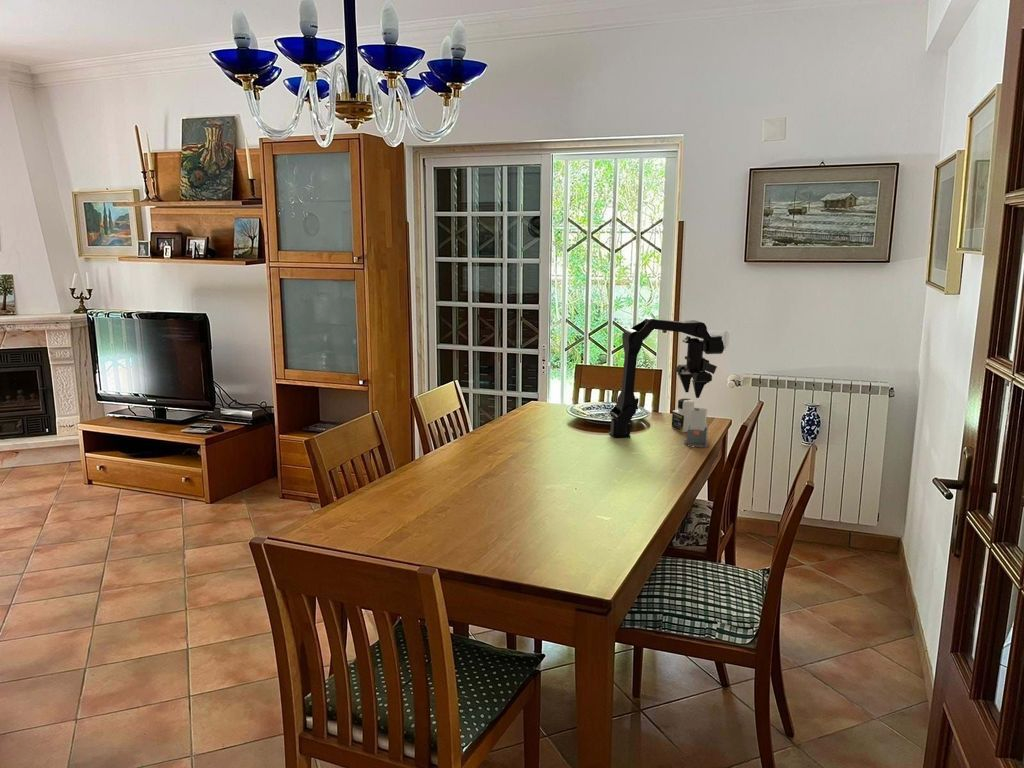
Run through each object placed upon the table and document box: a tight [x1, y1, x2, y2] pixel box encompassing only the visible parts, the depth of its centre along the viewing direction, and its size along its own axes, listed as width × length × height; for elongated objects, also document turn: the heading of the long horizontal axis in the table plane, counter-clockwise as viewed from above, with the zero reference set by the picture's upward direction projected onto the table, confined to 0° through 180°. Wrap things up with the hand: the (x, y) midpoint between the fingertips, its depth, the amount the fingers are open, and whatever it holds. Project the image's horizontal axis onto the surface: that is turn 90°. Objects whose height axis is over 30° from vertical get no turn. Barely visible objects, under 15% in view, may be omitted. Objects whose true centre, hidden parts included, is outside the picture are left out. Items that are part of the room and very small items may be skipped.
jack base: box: [683, 426, 711, 448], centre depth 268 cm, size 9×9×6 cm
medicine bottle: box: [671, 398, 695, 433], centre depth 286 cm, size 7×7×12 cm
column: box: [690, 407, 708, 432], centre depth 267 cm, size 5×5×12 cm
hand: (692, 395), depth 280 cm, fingers open, 9 cm apart
